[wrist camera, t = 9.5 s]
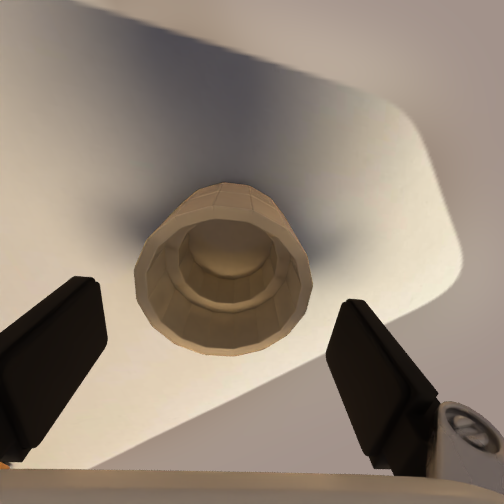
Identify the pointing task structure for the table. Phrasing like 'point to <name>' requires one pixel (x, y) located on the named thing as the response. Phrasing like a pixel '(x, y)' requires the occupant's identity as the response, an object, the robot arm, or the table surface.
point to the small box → (3, 466)
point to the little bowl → (224, 273)
